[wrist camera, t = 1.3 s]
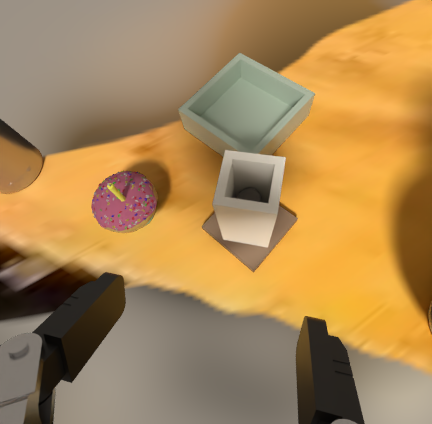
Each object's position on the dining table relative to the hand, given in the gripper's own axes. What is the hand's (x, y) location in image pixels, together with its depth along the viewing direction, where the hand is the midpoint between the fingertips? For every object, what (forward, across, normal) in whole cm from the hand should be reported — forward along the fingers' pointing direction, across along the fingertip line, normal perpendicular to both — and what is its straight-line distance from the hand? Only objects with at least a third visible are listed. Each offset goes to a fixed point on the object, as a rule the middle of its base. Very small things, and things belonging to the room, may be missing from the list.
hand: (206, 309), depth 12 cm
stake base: (+25, 0, +8) cm, 26 cm away
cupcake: (+24, +16, +9) cm, 30 cm away
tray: (+37, +4, -4) cm, 37 cm away
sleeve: (+24, 0, +7) cm, 25 cm away
